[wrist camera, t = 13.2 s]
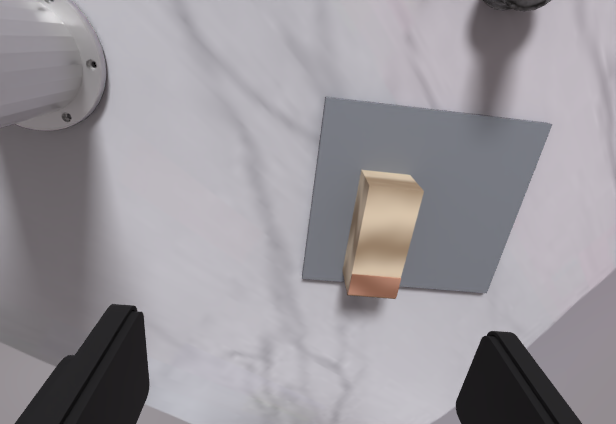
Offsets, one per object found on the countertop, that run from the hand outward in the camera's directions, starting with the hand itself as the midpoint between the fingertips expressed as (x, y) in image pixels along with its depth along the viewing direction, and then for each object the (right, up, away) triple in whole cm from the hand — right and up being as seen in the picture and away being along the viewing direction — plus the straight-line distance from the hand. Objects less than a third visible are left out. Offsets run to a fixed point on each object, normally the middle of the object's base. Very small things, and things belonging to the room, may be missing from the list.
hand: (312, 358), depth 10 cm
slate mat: (+11, +5, +29) cm, 32 cm away
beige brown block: (+7, +3, +29) cm, 30 cm away
